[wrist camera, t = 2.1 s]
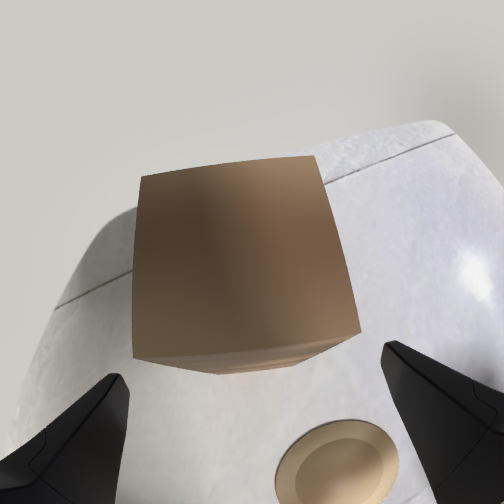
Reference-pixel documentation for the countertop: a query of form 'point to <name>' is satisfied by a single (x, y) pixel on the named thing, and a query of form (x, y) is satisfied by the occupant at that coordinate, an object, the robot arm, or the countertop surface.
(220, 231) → the walnut block
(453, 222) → the countertop surface
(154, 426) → the countertop surface
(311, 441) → the plate
